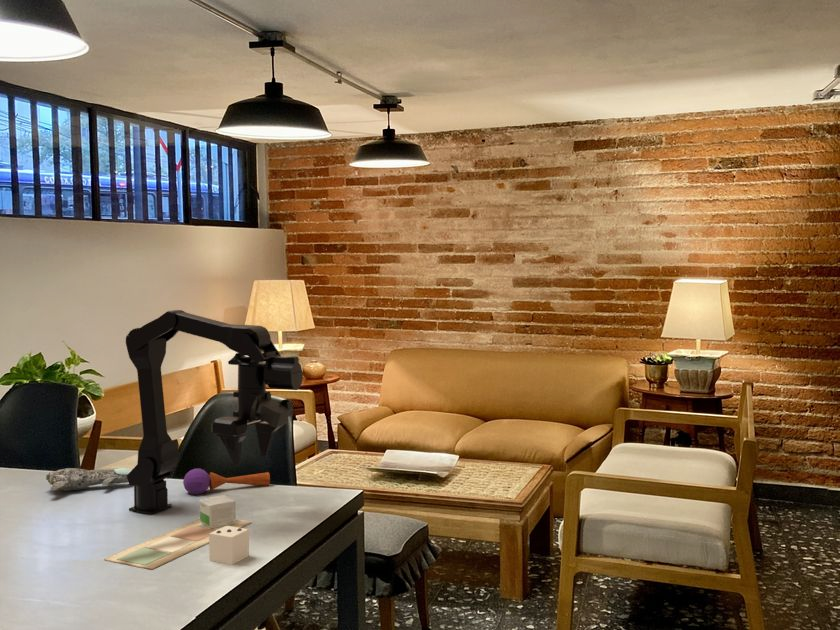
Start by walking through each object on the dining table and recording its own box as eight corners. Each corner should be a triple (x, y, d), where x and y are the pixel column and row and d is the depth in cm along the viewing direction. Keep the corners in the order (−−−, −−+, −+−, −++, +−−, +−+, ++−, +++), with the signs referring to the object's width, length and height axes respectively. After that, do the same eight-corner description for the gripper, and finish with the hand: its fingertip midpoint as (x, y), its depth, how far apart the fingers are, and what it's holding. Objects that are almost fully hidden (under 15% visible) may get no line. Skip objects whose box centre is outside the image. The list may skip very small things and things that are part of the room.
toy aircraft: (137, 494, 190) (137, 471, 190) (43, 502, 183) (42, 478, 183) (137, 477, 205) (137, 456, 205) (50, 484, 199) (49, 462, 199)
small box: (198, 522, 168) (198, 498, 168) (225, 517, 172) (224, 494, 171) (210, 529, 164) (209, 505, 163) (236, 524, 167) (236, 500, 167)
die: (209, 560, 148) (209, 531, 147) (226, 552, 152) (226, 523, 152) (232, 565, 145) (231, 535, 145) (249, 556, 150) (248, 527, 150)
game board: (104, 560, 147) (104, 558, 147) (208, 515, 174) (208, 514, 174) (151, 569, 143) (151, 568, 143) (251, 522, 169) (251, 521, 169)
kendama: (272, 472, 195) (187, 475, 186) (269, 496, 197) (184, 499, 188) (266, 462, 201) (182, 464, 192) (263, 485, 202) (180, 488, 193)
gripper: (256, 396, 158) (255, 476, 159) (309, 384, 175) (308, 457, 176) (210, 391, 163) (209, 468, 164) (266, 380, 180) (265, 450, 181)
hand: (250, 461), depth 171 cm, fingers open, 9 cm apart
